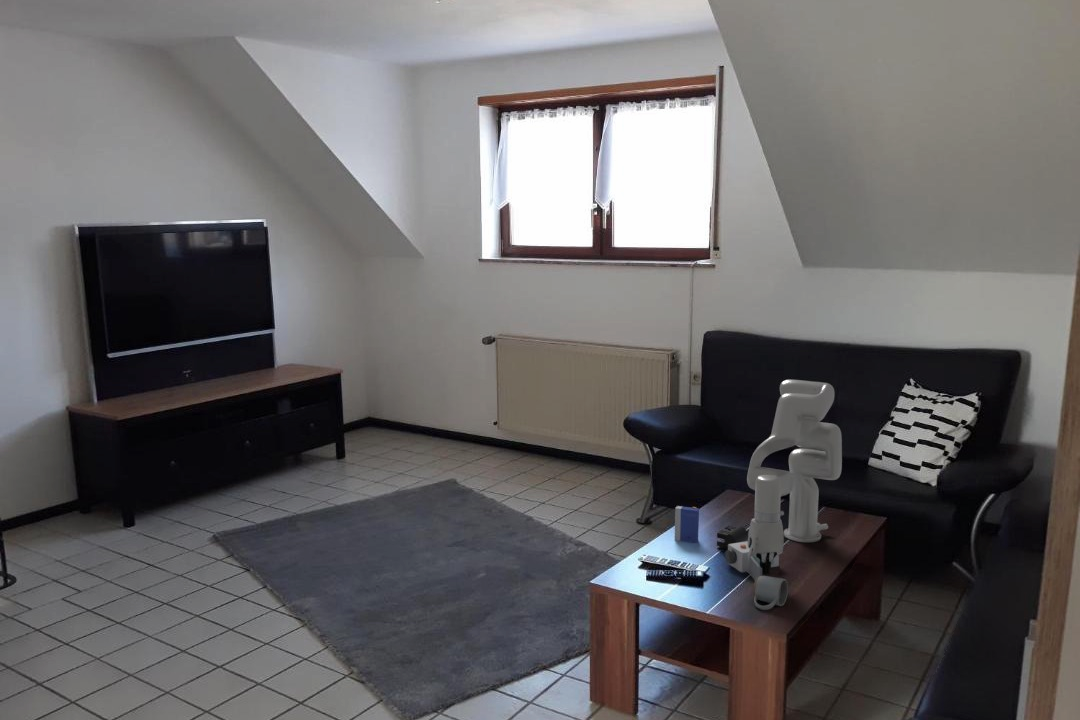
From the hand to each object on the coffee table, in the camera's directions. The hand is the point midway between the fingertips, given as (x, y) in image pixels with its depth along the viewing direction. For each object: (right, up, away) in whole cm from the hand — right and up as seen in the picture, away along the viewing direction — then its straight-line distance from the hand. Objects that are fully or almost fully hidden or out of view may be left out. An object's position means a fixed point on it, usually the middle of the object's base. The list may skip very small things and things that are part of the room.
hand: (765, 572), depth 264 cm
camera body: (0, -1, +14) cm, 14 cm away
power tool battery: (-4, +1, +28) cm, 29 cm away
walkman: (-18, +2, +35) cm, 40 cm away
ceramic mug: (-3, -6, -14) cm, 16 cm away
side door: (-3, -3, +2) cm, 4 cm away
